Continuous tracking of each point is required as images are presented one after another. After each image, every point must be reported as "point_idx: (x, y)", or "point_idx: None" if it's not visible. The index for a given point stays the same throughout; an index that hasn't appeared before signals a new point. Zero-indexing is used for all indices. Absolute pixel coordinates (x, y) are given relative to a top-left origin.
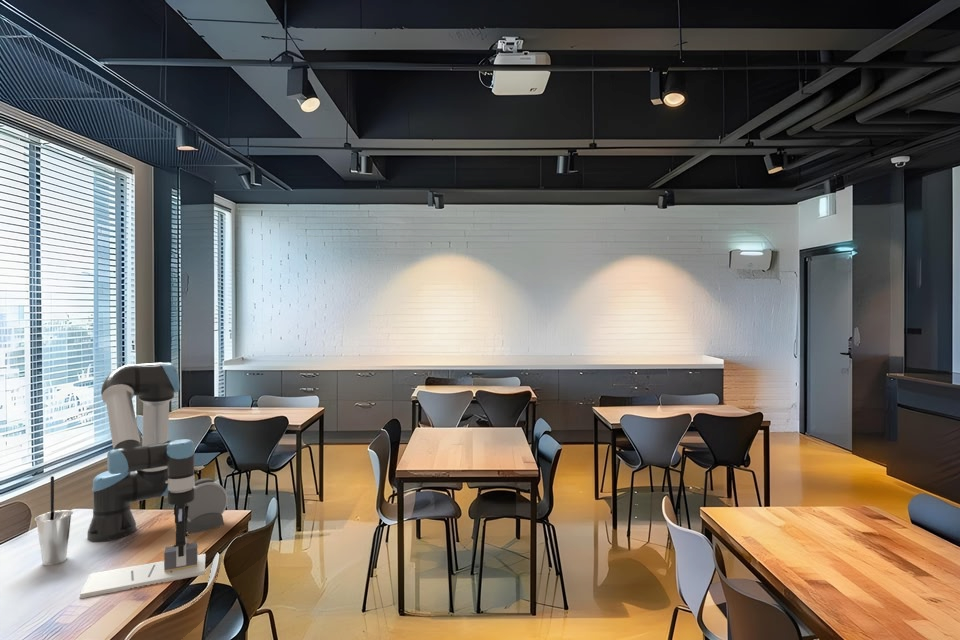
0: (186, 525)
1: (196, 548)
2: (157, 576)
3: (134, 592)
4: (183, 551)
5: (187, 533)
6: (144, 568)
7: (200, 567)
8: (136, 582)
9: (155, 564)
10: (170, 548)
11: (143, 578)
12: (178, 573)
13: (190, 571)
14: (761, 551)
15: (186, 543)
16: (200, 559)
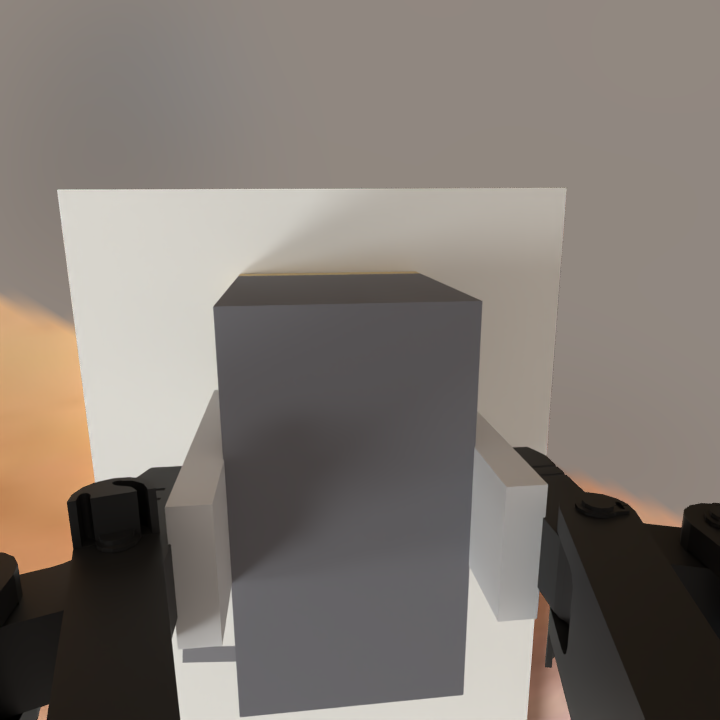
0: (50, 706)
1: (479, 301)
2: (472, 586)
3: None
4: (553, 473)
5: (71, 534)
6: (234, 715)
7: (462, 232)
8: (507, 710)
9: (175, 648)
10: (332, 650)
11: None
12: (499, 427)
13: (513, 324)
14: None
15: (224, 467)
16: (232, 241)
